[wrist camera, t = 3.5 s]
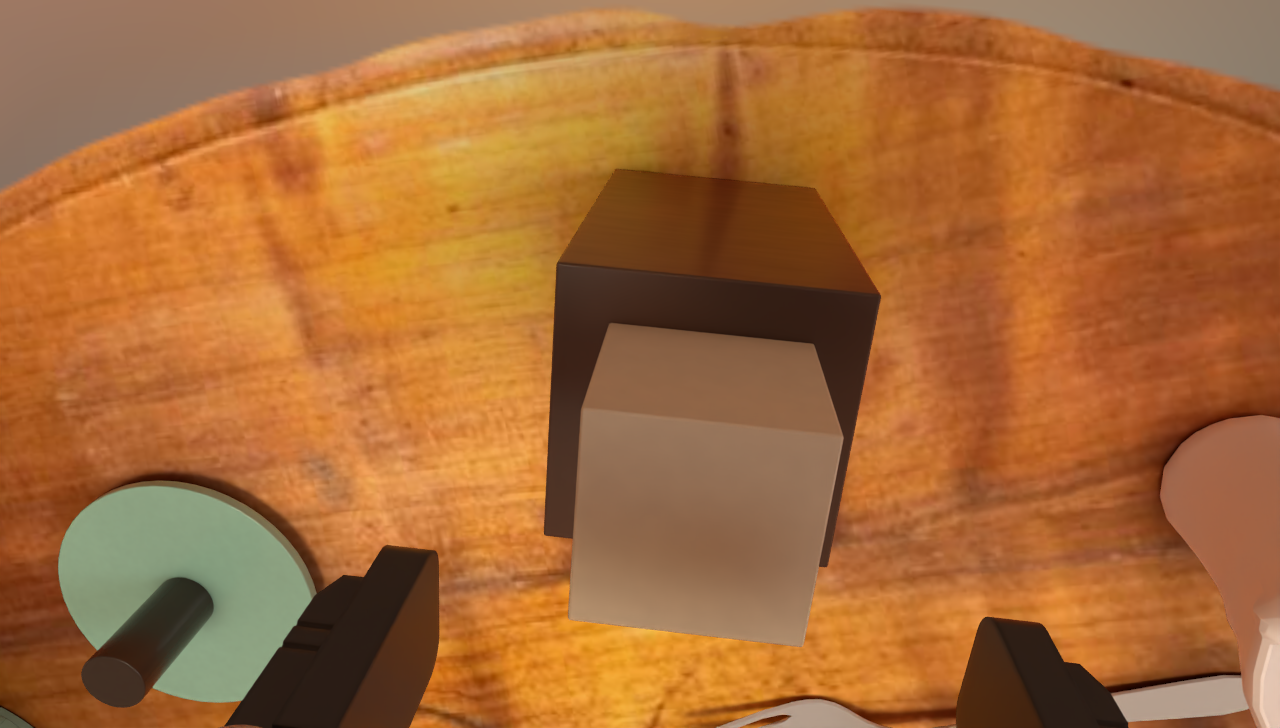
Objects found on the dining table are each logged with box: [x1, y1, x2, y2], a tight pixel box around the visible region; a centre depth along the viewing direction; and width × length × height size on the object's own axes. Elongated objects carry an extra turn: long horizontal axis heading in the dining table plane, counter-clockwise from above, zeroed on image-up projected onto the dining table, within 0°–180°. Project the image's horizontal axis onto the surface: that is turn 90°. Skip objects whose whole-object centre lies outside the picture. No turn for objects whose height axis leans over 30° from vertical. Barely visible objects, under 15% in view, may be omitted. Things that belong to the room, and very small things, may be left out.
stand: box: [544, 169, 881, 567], centre depth 25 cm, size 7×7×12 cm
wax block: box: [568, 323, 844, 647], centre depth 17 cm, size 4×4×4 cm
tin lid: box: [58, 480, 317, 707], centre depth 34 cm, size 11×11×6 cm
